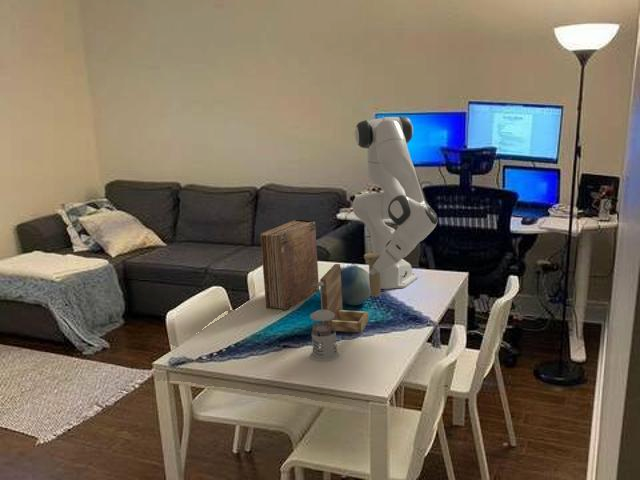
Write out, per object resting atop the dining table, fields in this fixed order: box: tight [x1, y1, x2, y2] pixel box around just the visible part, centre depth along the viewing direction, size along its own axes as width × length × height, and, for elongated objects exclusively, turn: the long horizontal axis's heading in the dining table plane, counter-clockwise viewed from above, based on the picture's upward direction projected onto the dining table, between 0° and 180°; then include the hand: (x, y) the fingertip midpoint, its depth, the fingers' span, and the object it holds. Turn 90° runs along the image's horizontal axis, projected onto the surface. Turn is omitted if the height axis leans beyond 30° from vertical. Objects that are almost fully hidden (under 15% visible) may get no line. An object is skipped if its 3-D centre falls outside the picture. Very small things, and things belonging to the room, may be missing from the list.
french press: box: [309, 281, 341, 363], centre depth 210 cm, size 10×12×25 cm
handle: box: [363, 252, 382, 298], centre depth 229 cm, size 5×6×15 cm
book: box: [259, 219, 320, 312], centre depth 261 cm, size 25×9×30 cm, turn 149°
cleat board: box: [319, 263, 370, 333], centre depth 232 cm, size 13×18×20 cm
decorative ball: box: [341, 265, 372, 306], centre depth 254 cm, size 15×15×15 cm
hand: (372, 270), depth 229 cm, fingers closed on handle, 3 cm apart
